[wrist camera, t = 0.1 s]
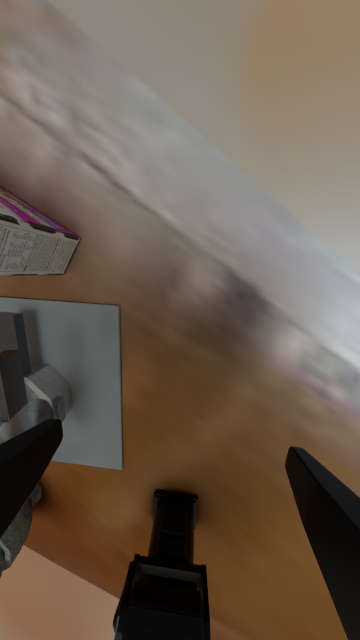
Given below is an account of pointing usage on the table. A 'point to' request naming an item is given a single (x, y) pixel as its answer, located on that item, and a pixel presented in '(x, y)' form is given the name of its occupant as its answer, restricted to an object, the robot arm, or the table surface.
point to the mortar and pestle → (18, 531)
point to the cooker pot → (35, 367)
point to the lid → (17, 400)
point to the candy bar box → (32, 240)
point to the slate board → (80, 372)
